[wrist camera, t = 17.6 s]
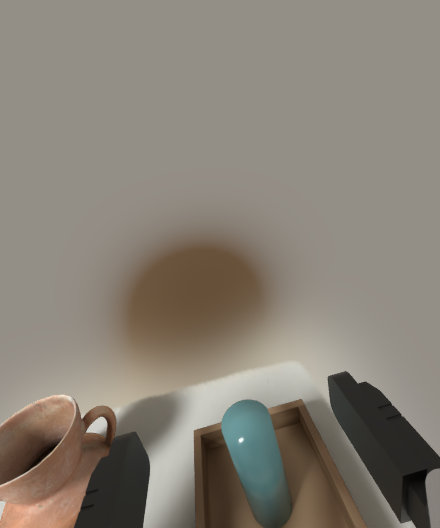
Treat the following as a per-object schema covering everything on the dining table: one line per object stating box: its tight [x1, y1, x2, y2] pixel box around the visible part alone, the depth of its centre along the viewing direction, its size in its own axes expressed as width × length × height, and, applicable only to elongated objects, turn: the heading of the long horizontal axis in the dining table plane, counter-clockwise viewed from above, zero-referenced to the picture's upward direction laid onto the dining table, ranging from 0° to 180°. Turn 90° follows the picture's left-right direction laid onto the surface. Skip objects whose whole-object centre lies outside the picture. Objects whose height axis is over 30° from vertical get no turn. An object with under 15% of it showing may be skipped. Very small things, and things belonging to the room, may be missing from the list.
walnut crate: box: [194, 399, 367, 528], centre depth 30 cm, size 17×18×4 cm
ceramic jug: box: [0, 394, 116, 528], centre depth 35 cm, size 18×14×14 cm
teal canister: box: [221, 400, 292, 528], centre depth 28 cm, size 5×5×14 cm
